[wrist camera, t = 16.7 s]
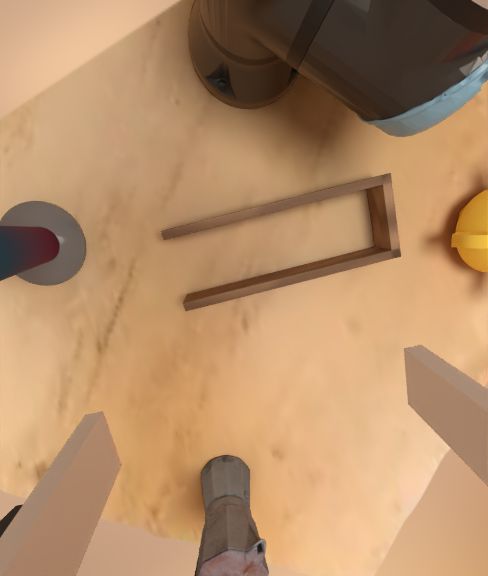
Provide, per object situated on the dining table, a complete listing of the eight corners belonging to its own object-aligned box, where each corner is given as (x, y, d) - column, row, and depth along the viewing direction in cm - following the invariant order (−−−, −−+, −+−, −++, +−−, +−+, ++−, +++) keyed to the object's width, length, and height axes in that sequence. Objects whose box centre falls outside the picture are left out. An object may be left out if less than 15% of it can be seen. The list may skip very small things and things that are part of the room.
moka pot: (272, 459, 57) (296, 587, 37) (222, 518, 59) (221, 668, 39) (228, 433, 55) (230, 554, 35) (179, 495, 57) (156, 640, 38)
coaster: (-15, 213, 44) (-18, 213, 44) (68, 192, 44) (66, 191, 44) (20, 293, 47) (17, 294, 46) (97, 273, 47) (96, 274, 47)
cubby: (167, 229, 46) (161, 231, 41) (373, 177, 46) (390, 172, 41) (189, 301, 49) (185, 311, 44) (383, 252, 49) (400, 256, 44)
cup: (62, 219, 44) (-17, 222, 30) (69, 267, 46) (-2, 292, 32) (12, 221, 44) (-92, 224, 30) (21, 268, 46) (-74, 294, 31)
